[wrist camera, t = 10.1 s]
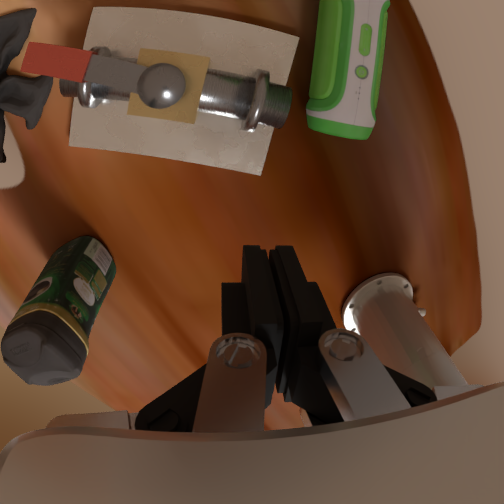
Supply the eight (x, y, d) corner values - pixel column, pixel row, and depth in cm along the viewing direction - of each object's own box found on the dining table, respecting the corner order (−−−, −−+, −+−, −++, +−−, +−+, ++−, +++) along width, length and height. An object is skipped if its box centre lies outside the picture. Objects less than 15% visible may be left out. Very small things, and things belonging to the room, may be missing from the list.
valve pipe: (296, 38, 28) (317, 29, 22) (259, 172, 35) (269, 194, 29) (91, 9, 23) (64, -4, 17) (67, 143, 30) (38, 159, 24)
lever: (194, 71, 23) (192, 70, 20) (178, 111, 24) (174, 114, 22) (47, 38, 18) (31, 36, 16) (35, 75, 20) (18, 76, 17)
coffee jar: (78, 296, 41) (35, 400, 25) (45, 254, 37) (-17, 352, 21) (127, 272, 40) (93, 386, 24) (94, 224, 36) (32, 328, 20)
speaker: (354, 131, 34) (385, 146, 28) (295, 123, 33) (315, 134, 27) (371, -4, 25) (404, -16, 19) (311, -20, 24) (335, -40, 18)
